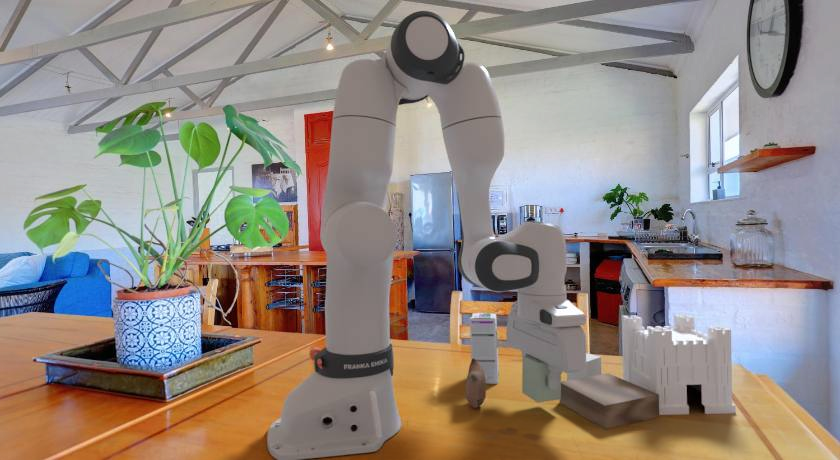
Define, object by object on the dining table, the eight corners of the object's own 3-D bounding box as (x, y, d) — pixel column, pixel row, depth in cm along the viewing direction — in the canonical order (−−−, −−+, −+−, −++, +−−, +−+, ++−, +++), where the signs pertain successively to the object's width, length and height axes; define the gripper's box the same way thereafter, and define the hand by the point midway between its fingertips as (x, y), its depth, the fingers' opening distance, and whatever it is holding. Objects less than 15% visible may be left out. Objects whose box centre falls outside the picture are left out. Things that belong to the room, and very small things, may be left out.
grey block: (587, 390, 90) (586, 361, 90) (567, 383, 94) (566, 355, 94) (601, 384, 93) (601, 356, 93) (581, 378, 97) (580, 351, 97)
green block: (537, 402, 78) (537, 363, 78) (522, 392, 83) (522, 356, 83) (560, 399, 80) (561, 361, 80) (544, 389, 85) (544, 353, 85)
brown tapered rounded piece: (465, 394, 90) (464, 355, 89) (484, 394, 89) (483, 355, 89) (465, 413, 81) (464, 370, 81) (487, 413, 80) (486, 370, 80)
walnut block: (605, 429, 73) (604, 405, 73) (559, 402, 84) (559, 381, 84) (659, 417, 77) (658, 394, 77) (608, 393, 88) (608, 373, 88)
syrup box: (498, 384, 95) (496, 317, 94) (471, 383, 96) (469, 317, 96) (498, 375, 100) (497, 312, 100) (473, 374, 101) (471, 312, 101)
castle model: (687, 384, 92) (686, 313, 92) (735, 413, 78) (734, 330, 78) (620, 385, 92) (619, 315, 92) (656, 415, 78) (654, 331, 78)
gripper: (499, 300, 90) (498, 366, 90) (561, 319, 71) (561, 404, 71) (525, 298, 92) (524, 363, 92) (593, 317, 73) (592, 399, 73)
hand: (541, 381), depth 81 cm, fingers closed on green block, 5 cm apart
